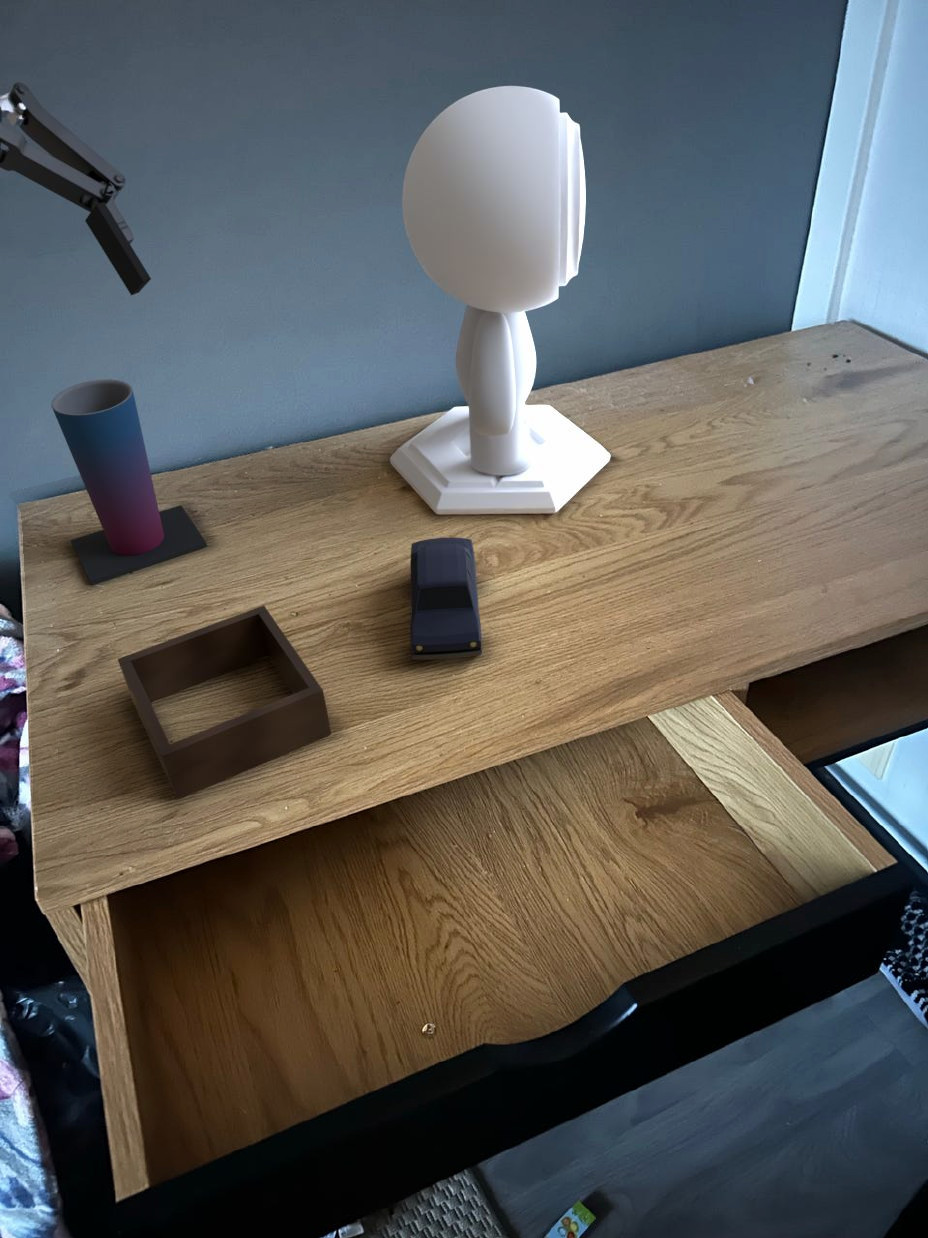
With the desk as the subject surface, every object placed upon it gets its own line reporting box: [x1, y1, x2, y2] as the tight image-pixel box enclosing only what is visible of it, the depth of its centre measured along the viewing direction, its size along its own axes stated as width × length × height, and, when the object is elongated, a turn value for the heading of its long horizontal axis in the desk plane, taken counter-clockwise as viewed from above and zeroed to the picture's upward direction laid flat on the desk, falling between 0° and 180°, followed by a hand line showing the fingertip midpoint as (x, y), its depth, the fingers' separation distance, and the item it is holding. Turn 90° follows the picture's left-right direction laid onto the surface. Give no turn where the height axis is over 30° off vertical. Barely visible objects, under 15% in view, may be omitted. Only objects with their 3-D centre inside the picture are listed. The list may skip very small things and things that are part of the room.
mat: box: [70, 504, 208, 586], centre depth 94 cm, size 11×8×1 cm
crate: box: [117, 605, 332, 800], centre depth 73 cm, size 12×12×4 cm
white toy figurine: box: [389, 85, 611, 515], centre depth 92 cm, size 20×23×35 cm
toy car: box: [409, 537, 484, 661], centre depth 82 cm, size 6×15×5 cm, turn 2°
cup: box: [50, 378, 164, 556], centre depth 89 cm, size 7×7×15 cm
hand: (69, 316), depth 75 cm, fingers open, 13 cm apart
